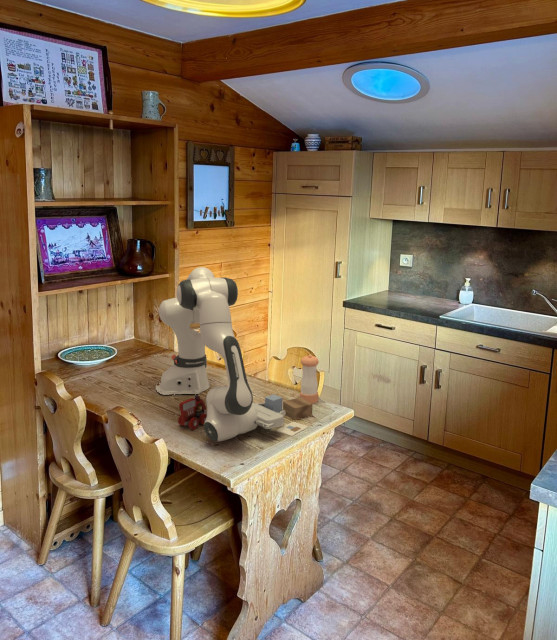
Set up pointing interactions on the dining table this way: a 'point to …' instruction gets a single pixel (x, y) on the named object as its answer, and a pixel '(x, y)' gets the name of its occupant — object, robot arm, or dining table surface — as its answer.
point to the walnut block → (297, 408)
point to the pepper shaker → (309, 379)
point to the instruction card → (292, 428)
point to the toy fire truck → (192, 412)
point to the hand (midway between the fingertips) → (275, 408)
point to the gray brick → (273, 403)
